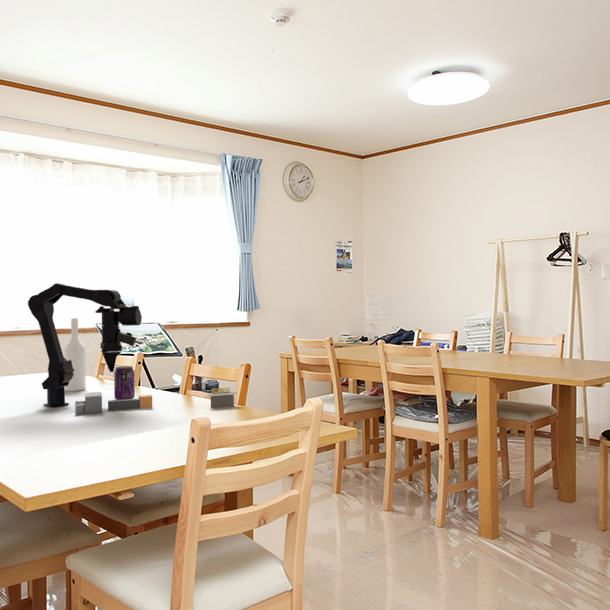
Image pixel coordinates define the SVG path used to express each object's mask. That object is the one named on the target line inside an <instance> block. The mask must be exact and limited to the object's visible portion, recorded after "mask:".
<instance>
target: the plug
mask: <svg viewBox="0 0 610 610" xmlns="http://www.w3.org/2000/svg"><path fill="white" fill-rule="evenodd" d="M137 409H139V410H141V409H153V395H152V394H142V395H141V394H139V395H138V398H132V399H124V400H117V399H112V400H107V410H108V412H114V411H125V410H126V411H127V410H137Z"/></svg>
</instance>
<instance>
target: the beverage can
mask: <svg viewBox="0 0 610 610" xmlns="http://www.w3.org/2000/svg"><path fill="white" fill-rule="evenodd" d="M133 368H134V366H130V365H129V366H128V365H127V366H126V365H125V366H116V367H115V369H114V371H113V373H114V374H113V378H114V383H113V384H114V387H113V388H114V389H113V390H114V391H113V392H114V400H124V399H135V396H136V395H135V394H136V393H135V370H134V369H133Z"/></svg>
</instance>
